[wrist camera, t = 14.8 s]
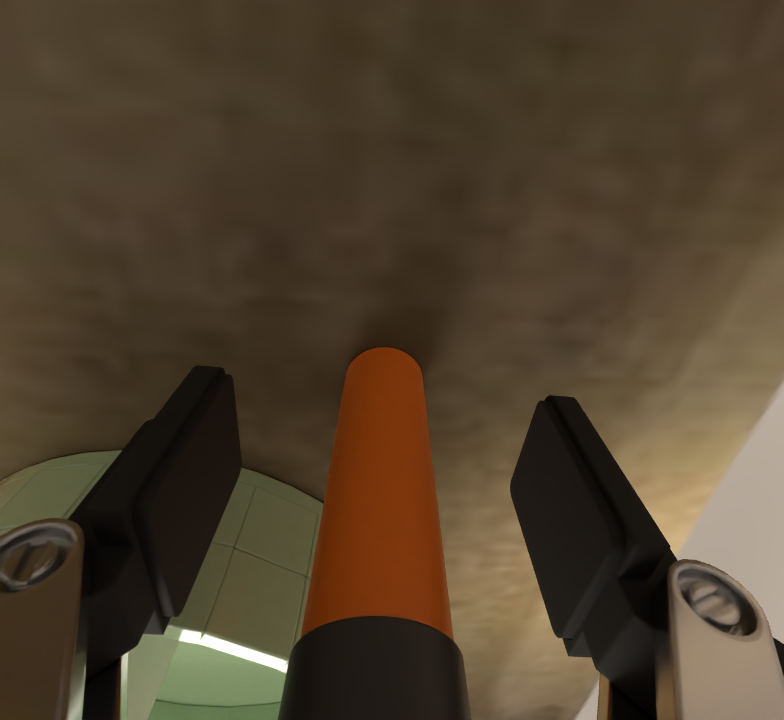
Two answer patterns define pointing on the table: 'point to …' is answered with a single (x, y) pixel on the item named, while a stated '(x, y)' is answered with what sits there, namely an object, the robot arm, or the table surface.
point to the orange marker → (378, 565)
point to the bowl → (210, 587)
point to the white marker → (147, 673)
